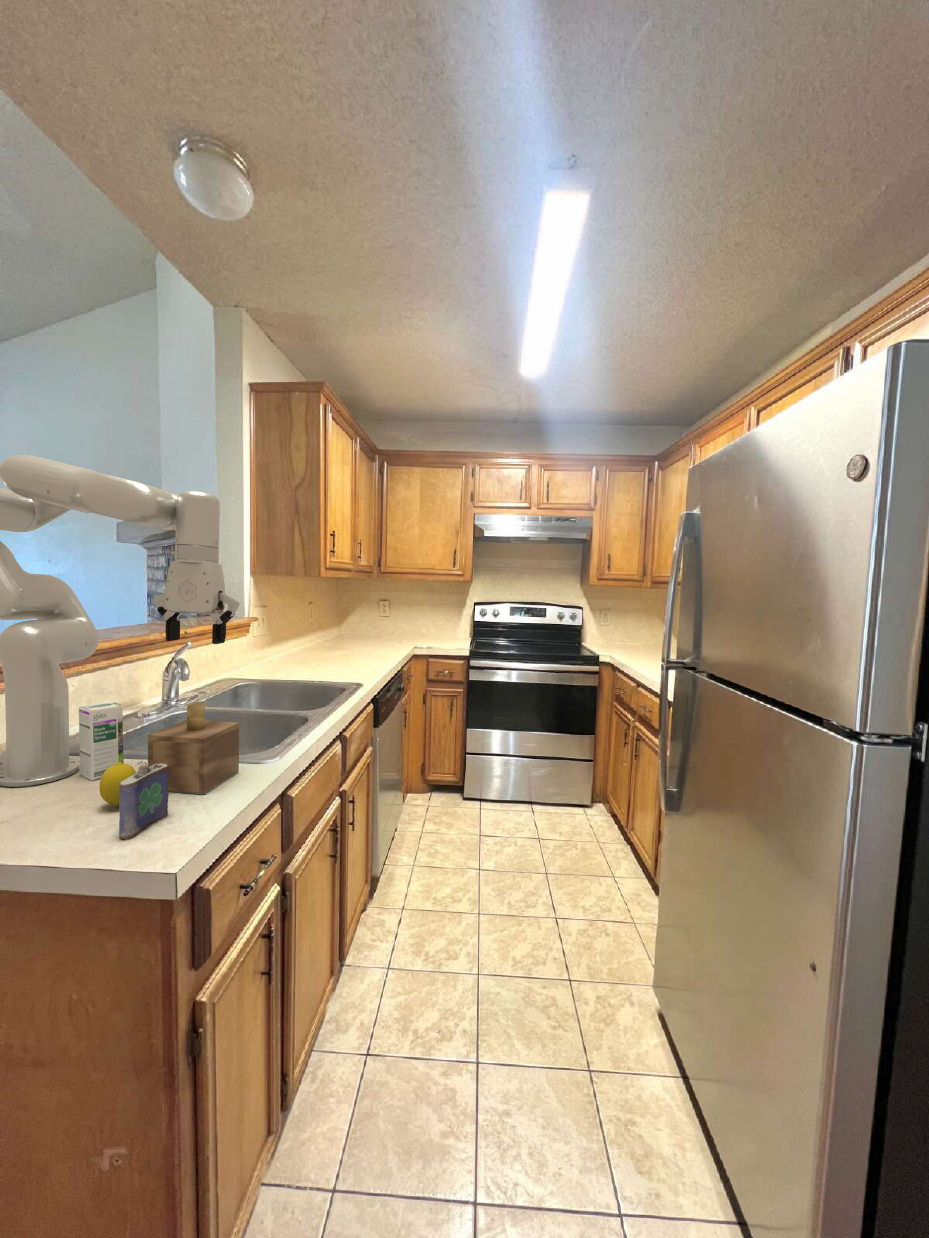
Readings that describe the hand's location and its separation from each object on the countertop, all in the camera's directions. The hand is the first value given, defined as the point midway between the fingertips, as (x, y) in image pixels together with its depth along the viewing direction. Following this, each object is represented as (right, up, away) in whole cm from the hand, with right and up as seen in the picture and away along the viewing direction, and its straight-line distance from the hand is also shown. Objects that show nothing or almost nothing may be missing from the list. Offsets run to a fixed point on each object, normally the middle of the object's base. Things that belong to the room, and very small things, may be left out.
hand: (195, 641), depth 95 cm
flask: (+1, -30, -17) cm, 34 cm away
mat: (-1, -28, +2) cm, 28 cm away
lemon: (-8, -29, -10) cm, 32 cm away
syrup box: (-22, -28, +4) cm, 35 cm away
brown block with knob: (-1, -28, +2) cm, 28 cm away
